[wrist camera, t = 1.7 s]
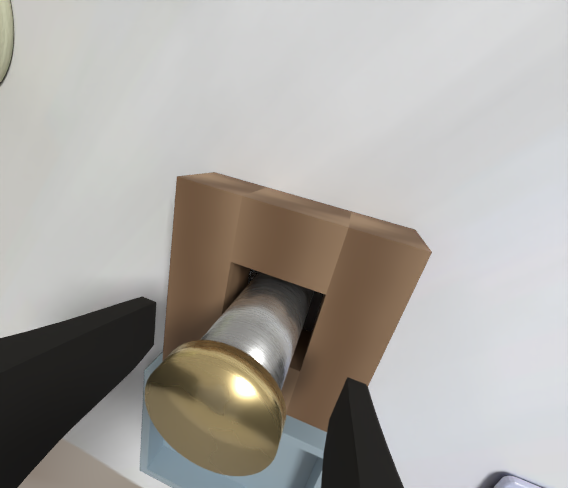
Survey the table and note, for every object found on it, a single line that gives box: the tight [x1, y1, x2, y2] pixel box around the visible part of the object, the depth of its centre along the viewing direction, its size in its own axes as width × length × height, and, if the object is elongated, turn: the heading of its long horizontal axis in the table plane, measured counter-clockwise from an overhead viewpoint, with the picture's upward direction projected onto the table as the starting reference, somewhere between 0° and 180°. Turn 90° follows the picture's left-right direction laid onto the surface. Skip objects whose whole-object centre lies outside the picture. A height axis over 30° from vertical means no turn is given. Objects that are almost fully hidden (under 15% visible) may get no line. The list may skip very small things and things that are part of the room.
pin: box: [145, 272, 314, 476], centre depth 11 cm, size 4×4×8 cm
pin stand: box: [162, 172, 432, 432], centre depth 13 cm, size 10×10×3 cm
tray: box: [140, 352, 327, 488], centre depth 18 cm, size 12×10×2 cm
